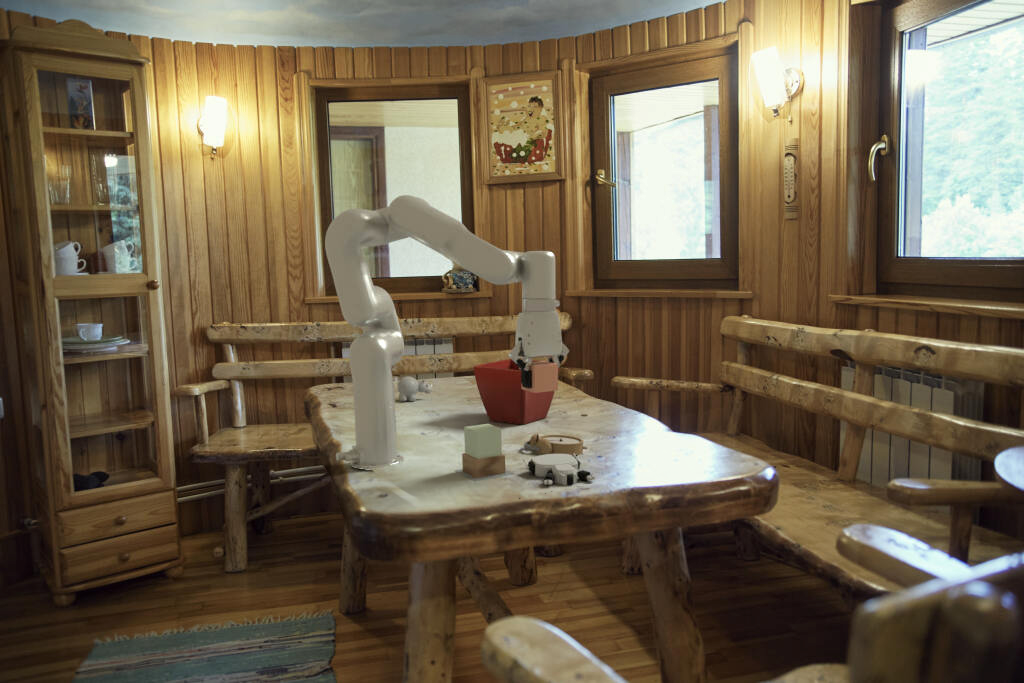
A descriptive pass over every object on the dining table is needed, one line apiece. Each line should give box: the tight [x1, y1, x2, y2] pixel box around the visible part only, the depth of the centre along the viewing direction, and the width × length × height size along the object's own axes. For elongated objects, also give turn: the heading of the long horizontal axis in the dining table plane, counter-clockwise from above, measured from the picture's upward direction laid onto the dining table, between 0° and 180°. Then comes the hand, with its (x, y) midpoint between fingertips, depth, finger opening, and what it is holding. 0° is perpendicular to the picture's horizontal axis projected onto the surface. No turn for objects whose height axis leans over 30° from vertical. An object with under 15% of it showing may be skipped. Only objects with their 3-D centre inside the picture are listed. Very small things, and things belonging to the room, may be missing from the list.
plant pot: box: [472, 358, 560, 426], centre depth 236 cm, size 19×19×17 cm
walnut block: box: [461, 452, 506, 478], centre depth 174 cm, size 7×7×4 cm
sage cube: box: [463, 423, 503, 459], centre depth 174 cm, size 6×6×6 cm
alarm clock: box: [523, 433, 588, 457], centre depth 194 cm, size 11×5×15 cm
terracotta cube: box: [521, 360, 559, 393], centre depth 178 cm, size 6×6×6 cm
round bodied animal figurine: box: [396, 376, 433, 402], centre depth 273 cm, size 7×12×8 cm, turn 101°
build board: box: [453, 468, 515, 482], centre depth 174 cm, size 10×10×1 cm
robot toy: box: [522, 453, 596, 486], centre depth 170 cm, size 12×4×15 cm
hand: (539, 385), depth 178 cm, fingers closed on terracotta cube, 6 cm apart
